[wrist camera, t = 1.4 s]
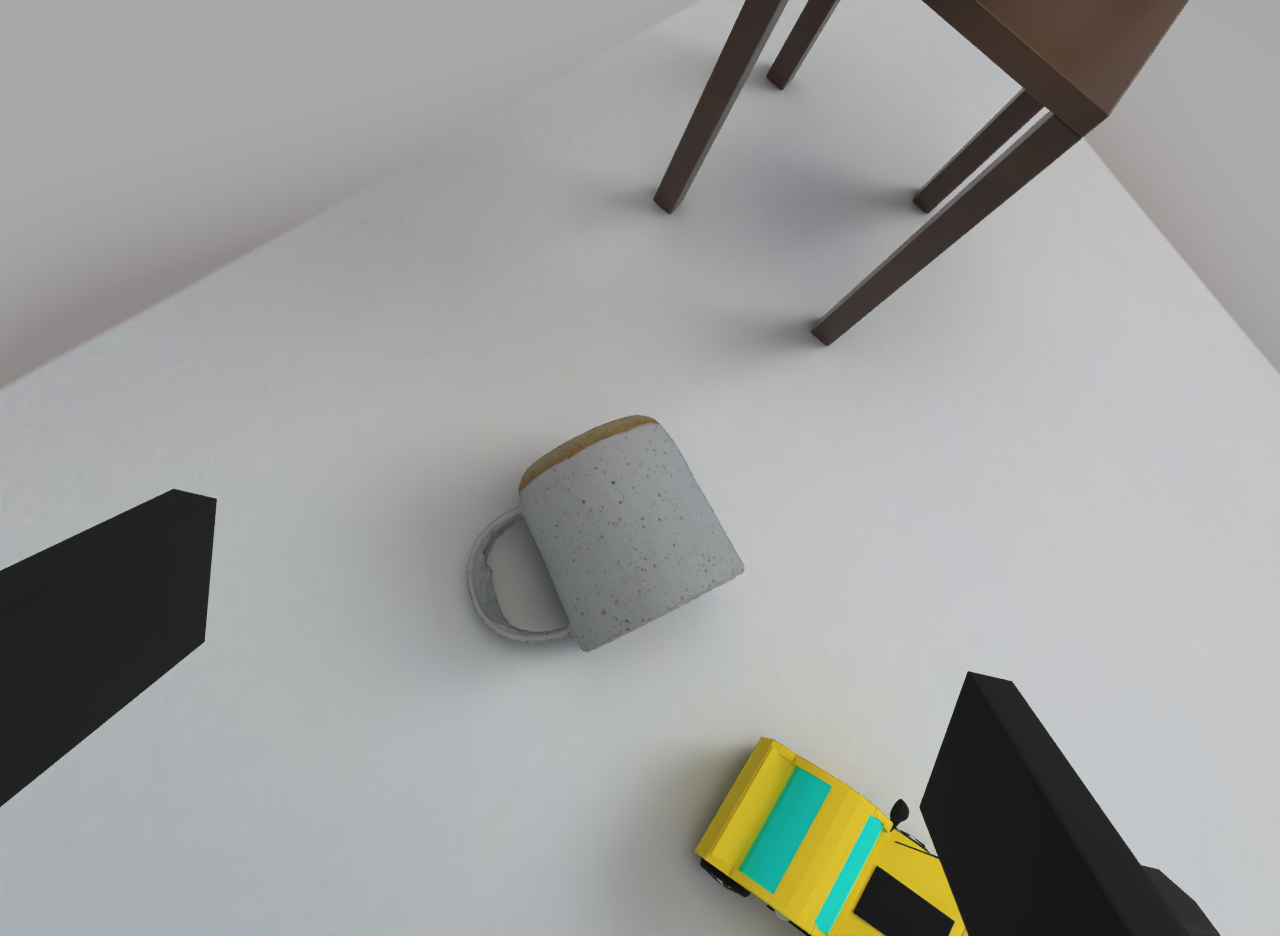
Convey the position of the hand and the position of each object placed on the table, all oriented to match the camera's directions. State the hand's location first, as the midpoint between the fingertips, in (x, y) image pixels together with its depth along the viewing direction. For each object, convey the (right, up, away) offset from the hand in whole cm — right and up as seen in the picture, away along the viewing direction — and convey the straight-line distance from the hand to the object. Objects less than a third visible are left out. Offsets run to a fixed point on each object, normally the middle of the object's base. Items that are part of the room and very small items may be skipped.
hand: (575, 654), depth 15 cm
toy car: (+9, -15, +25) cm, 30 cm away
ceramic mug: (-1, -1, +25) cm, 25 cm away
